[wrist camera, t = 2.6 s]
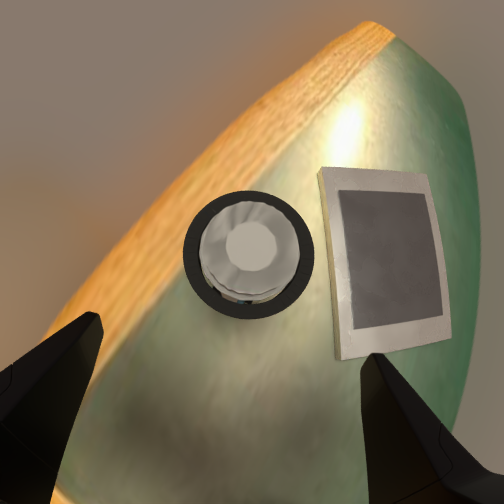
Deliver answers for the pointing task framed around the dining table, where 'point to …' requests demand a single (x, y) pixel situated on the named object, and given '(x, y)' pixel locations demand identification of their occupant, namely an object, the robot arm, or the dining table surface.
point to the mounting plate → (383, 261)
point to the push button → (248, 254)
